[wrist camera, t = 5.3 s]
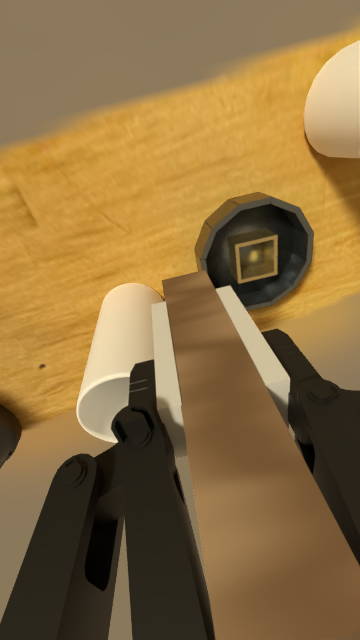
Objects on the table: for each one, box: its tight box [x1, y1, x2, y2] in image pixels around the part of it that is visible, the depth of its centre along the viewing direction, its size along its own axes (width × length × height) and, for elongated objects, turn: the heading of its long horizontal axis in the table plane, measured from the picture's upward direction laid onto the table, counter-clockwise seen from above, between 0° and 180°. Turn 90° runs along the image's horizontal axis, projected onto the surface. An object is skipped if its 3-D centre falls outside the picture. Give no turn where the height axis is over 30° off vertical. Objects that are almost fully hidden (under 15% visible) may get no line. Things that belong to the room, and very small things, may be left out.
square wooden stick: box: [162, 270, 360, 640], centre depth 11 cm, size 3×3×14 cm
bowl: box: [195, 192, 314, 311], centre depth 31 cm, size 12×12×4 cm
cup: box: [76, 283, 164, 443], centre depth 28 cm, size 8×8×16 cm
